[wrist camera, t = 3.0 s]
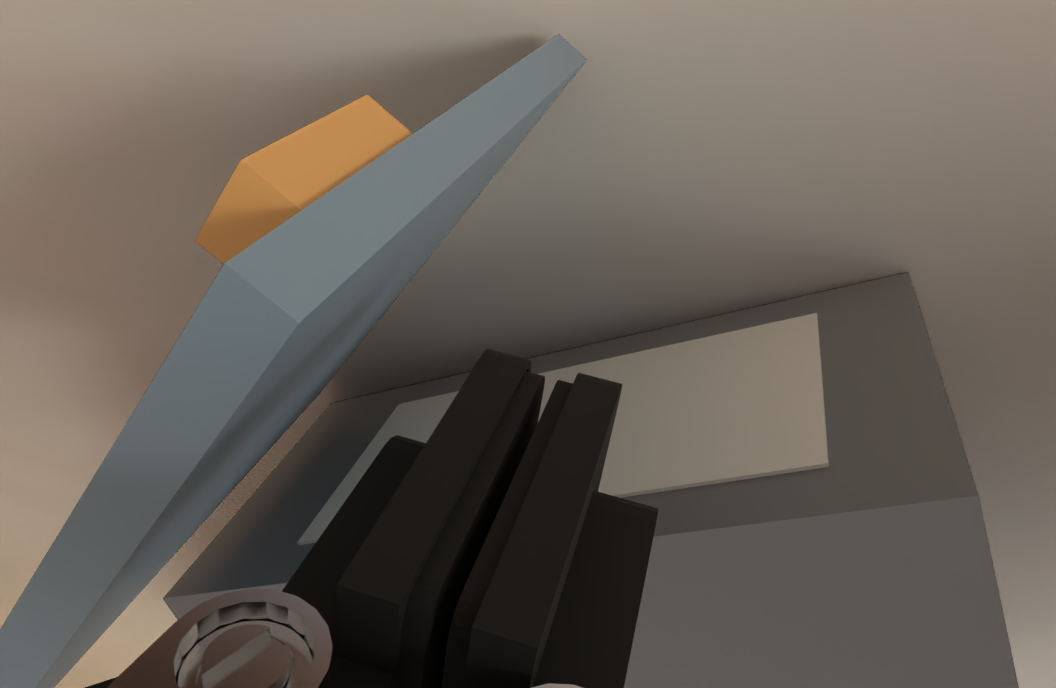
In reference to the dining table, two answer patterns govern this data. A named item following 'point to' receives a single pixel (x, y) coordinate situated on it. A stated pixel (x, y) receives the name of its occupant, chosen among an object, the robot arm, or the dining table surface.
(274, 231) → the side door
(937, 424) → the box
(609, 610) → the robot arm
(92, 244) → the dining table surface
